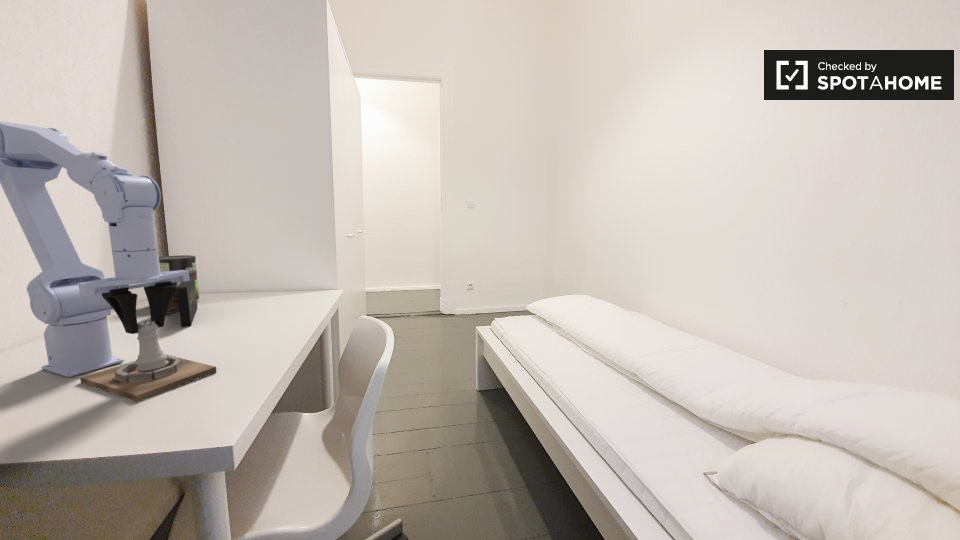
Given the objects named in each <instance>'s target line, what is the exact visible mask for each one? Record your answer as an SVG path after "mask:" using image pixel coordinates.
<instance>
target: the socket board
mask: <svg viewBox="0 0 960 540" xmlns="http://www.w3.org/2000/svg"><path fill="white" fill-rule="evenodd" d="M166 355H167V357H168V358H167V359H166V360H167V361H169V363H168V364H167V366H166V367H164V368H161V369H158V370H154V371H149V372H138V371H137V370H136V368H137V367H138V366H137V365H136V364H135V362H136V360H134V361H130V362H128V363H124V364H121V365H117V366H113V367H110V368H106V369H104V370H99V371H96V372H93V373H89V374H86V375H82V376H80V377H79V379H80V383H81V384H83V383H84V384H83V385H86V384H87V385H86V386H89V385H90V387H92V386H93V387H92V388H95V387H96V388H95V389H98V388H99V389H98V390H101V389H102V390H101V391H104V390H105V391H104V392H108V393H110V392H111V394H113V393H114V395H116V394H117V396H120V397H123V398H125V399H129V400H132V401H135V402H137V403H138V402H140V401H142V400H146V399H149V398H151V397H153V396H157V395H159V394H162V393H164V392H167V391H169V390H172V388H173V389H175V388H178V387H180V386H179V385H181V386H183V385H185V384H184V383H186V382H189V381H191V382H193V381H192V380H194V379H197V378H199V379H201V378H200V377H202V378H204V377H203V376H205V375H207V376H209V375H208V374H210V375H212V374H211V373H213V374H215V373H217V372H216V371H217V367H216V366H215V365H209V364H206V363H202V362H198V361H194V360H191V359H190V360H189V359H186V358H182V357H178V356H174V355H169V354H166ZM214 372H215V373H214ZM205 377H206V376H205ZM197 380H198V379H197ZM194 381H195V380H194ZM189 383H190V382H189ZM182 384H183V385H182ZM186 384H187V383H186ZM177 386H178V387H177ZM174 387H175V388H174Z"/></svg>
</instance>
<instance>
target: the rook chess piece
mask: <svg viewBox="0 0 960 540" xmlns="http://www.w3.org/2000/svg"><path fill="white" fill-rule="evenodd" d="M137 324H138V333H137V338H136V339H137V340H138V343H139V349H138V350H139V351H138V356H137V359H136V360H135V361H136V362H135V364H136V365H137V366H138V367H137V368H136V370H137V371H138V372H149V371H154V370H158V369H161V368H164V367H166V366H167V364H168V363H169V361H167V360H166V359H167V358H168V357H167V355H168V354H166V353H165V352H164V351H163V350H162V349H161V347H160V344H159V341H158V336H159V334H158V333H157V330H158V328H159V326H158V325H156V324H155V321H151V320H149V321H148V323H147V321H142V322H137Z"/></svg>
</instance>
